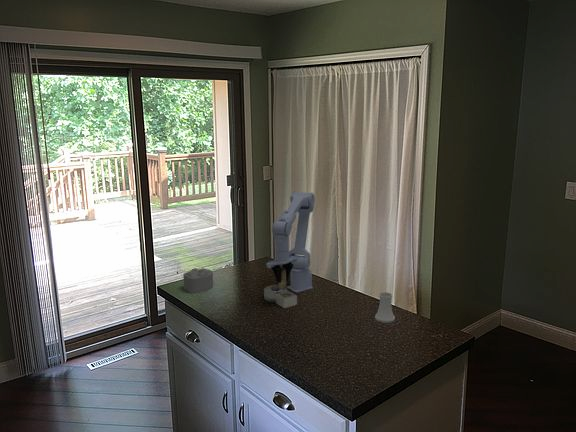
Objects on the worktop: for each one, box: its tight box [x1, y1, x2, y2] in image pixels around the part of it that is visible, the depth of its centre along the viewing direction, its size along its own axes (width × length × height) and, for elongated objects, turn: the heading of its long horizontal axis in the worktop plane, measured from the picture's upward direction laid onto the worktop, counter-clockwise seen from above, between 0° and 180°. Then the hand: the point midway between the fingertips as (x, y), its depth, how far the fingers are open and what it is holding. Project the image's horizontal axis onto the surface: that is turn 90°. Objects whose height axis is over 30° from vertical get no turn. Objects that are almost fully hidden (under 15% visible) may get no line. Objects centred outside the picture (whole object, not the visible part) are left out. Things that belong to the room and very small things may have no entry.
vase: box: [374, 292, 396, 324], centre depth 182 cm, size 8×8×10 cm
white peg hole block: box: [263, 284, 298, 309], centre depth 201 cm, size 16×10×5 cm, turn 35°
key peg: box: [278, 267, 287, 289], centre depth 197 cm, size 3×3×8 cm
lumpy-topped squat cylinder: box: [182, 267, 214, 295], centre depth 217 cm, size 10×13×9 cm
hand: (282, 281), depth 197 cm, fingers closed on key peg, 3 cm apart
